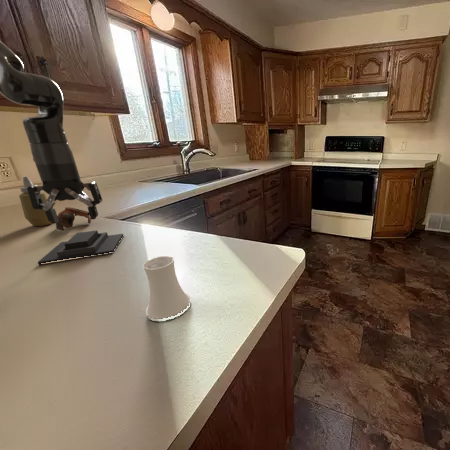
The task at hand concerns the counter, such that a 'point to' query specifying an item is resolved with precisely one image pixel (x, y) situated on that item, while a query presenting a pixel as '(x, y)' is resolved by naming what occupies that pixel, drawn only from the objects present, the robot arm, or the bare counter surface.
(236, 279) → the counter surface
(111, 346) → the counter surface
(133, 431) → the counter surface
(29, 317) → the counter surface
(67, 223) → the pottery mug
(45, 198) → the squeeze bottle
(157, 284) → the vase
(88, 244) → the dark grey block
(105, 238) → the base pad
